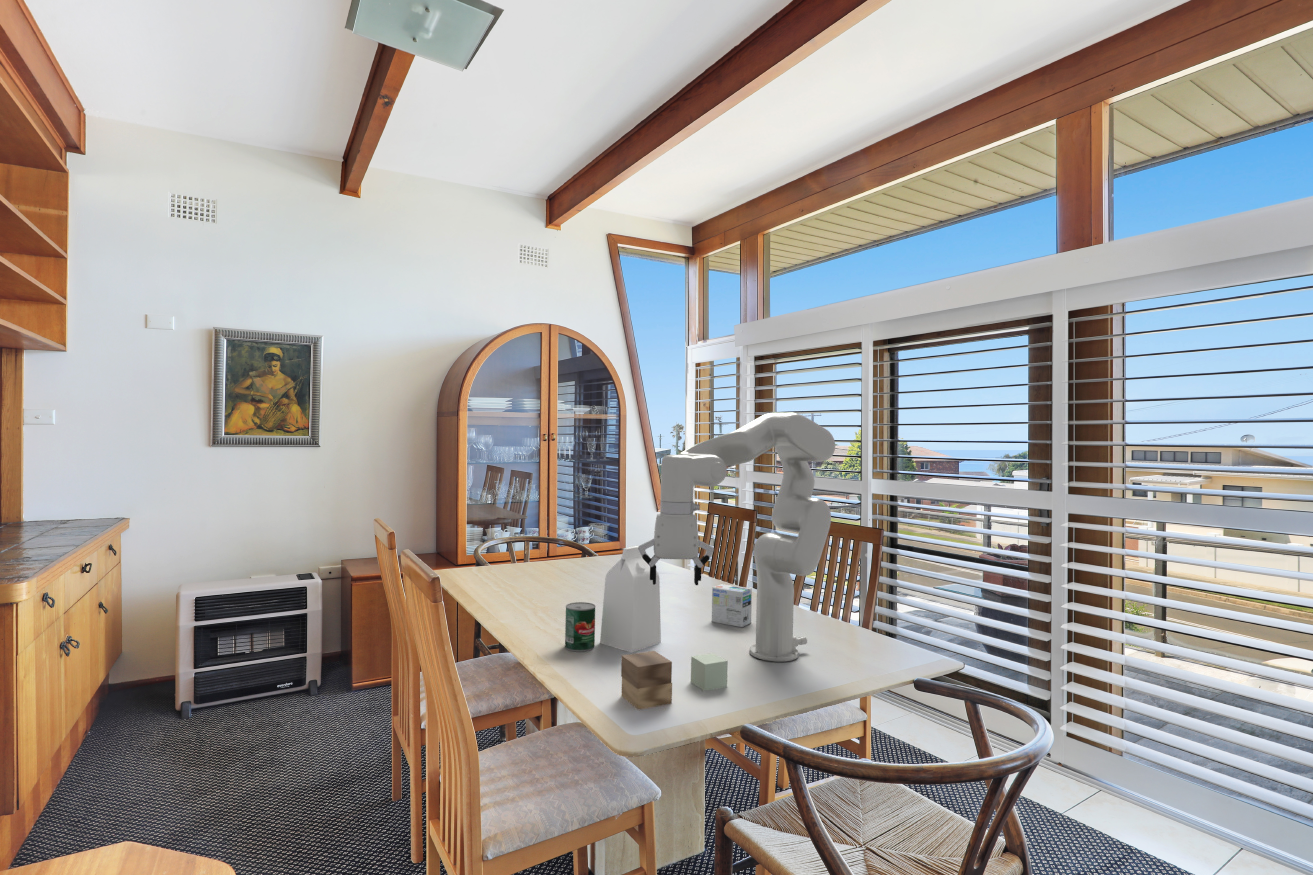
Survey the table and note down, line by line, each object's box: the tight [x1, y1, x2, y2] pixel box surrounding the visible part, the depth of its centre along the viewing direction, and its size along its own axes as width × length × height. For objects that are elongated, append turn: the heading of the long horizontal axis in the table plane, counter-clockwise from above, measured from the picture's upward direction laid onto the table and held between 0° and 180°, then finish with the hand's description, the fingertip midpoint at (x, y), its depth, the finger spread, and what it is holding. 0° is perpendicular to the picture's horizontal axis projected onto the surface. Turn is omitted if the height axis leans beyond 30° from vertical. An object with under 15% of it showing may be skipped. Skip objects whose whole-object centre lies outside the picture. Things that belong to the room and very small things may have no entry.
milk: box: [599, 545, 662, 654], centre depth 183 cm, size 12×12×26 cm
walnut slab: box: [620, 650, 673, 689], centre depth 144 cm, size 8×8×4 cm
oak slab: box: [621, 677, 673, 711], centre depth 144 cm, size 8×8×4 cm
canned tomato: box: [564, 601, 597, 653], centre depth 178 cm, size 8×8×11 cm
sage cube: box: [690, 652, 729, 692], centre depth 153 cm, size 6×6×6 cm
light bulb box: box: [711, 583, 753, 628], centre depth 206 cm, size 11×7×11 cm, turn 58°
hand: (675, 583), depth 154 cm, fingers open, 9 cm apart
